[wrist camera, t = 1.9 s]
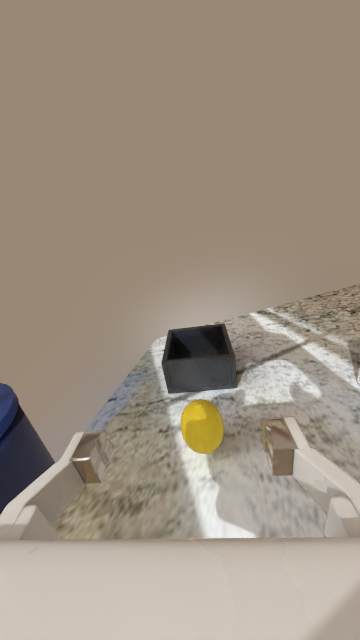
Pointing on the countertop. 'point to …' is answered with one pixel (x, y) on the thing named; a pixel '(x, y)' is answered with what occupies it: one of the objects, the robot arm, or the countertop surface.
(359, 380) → the light bulb box
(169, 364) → the dark gray open box
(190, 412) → the lemon
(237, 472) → the countertop surface
